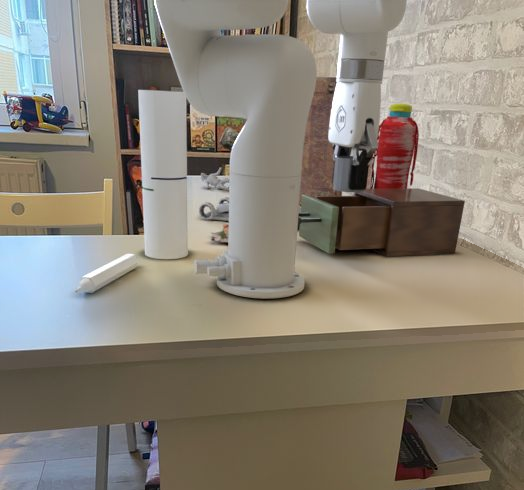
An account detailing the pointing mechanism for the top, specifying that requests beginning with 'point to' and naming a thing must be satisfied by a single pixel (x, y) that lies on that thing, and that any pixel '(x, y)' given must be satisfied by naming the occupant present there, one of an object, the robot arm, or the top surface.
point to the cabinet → (419, 221)
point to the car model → (218, 210)
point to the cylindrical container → (164, 172)
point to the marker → (107, 273)
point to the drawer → (344, 222)
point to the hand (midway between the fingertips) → (348, 185)
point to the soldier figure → (215, 180)
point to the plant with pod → (227, 143)
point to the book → (318, 143)
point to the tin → (343, 174)
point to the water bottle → (395, 150)
